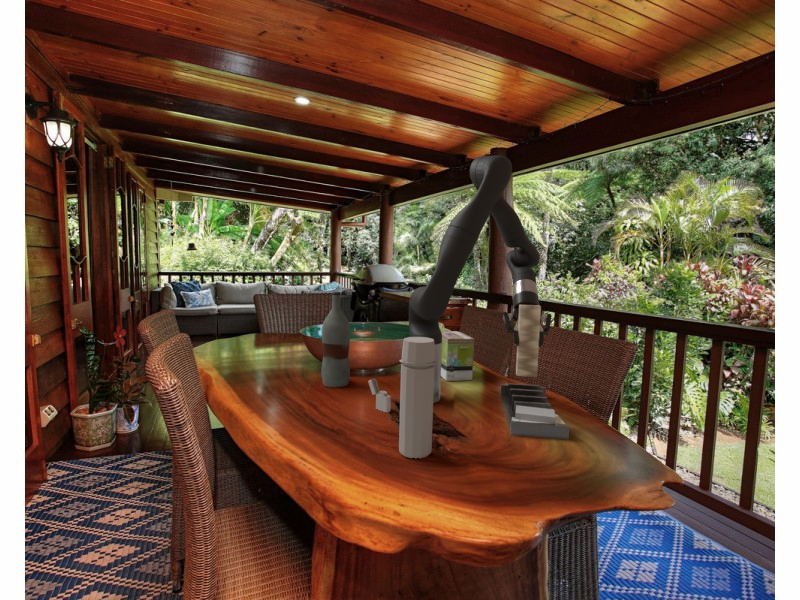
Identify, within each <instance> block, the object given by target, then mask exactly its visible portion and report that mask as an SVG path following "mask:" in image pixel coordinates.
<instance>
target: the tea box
mask: <svg viewBox="0 0 800 600" xmlns="http://www.w3.org/2000/svg"><path fill="white" fill-rule="evenodd" d="M441 333H442V355H441V377H442V378H443V379H444V381H447V382H449V381H451V382H453V381H456V382H458V381H472V380H473V374H474V373H473V371H474V370H473V369H474V367H473V366H474V351H475V350H474V349H475V338H474V337H471V336H470V335H467V334H465V333H463V332H461V331H456V330H455V331H441Z"/></svg>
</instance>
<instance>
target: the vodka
mask: <svg viewBox="0 0 800 600" xmlns="http://www.w3.org/2000/svg"><path fill="white" fill-rule="evenodd" d="M341 293H342V292H341V291H332V293H331V294H332V295H331V297H332V298H331V310H330V311H329V312H328V314H327V316H326V317H325V318H324V320H323V322H322V328H321V342H322V355H323V357H322V363H321V369H320V370H321V371H320V372H321V380H322V384H323V386H325V387H326V386H327V387H328V388H343V387H347V385H348V384H349V381H350V376H351V375H350V374H351V369H350V358H349V354H350V353H349V352H350V341H351V326H350V322H349V320H348V319H347V317H346V315H345V314H344V311H343V310H342V309H341ZM327 387H326V388H327Z"/></svg>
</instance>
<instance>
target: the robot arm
mask: <svg viewBox="0 0 800 600" xmlns="http://www.w3.org/2000/svg"><path fill="white" fill-rule="evenodd" d="M512 173H513V165H512V162H511V160H510V159H509V158H508V157H506V156H505V155H484V156H483V155H482V156H478V157H477V158H475V159H473V160H472V162H471V164H470V168H469V177H470V180H471V182H472V184H473V187H474V188H475V189H476V191H477V192H476V193H475V195H474V196H473V198H472V199H471V200H470V201H469V202H467V204H466V205H465V206H464V207H463V208H461V210H459V212H457V214H456V215H455V216H454V217H453V218H452V219H451V220H450V223H449V224H448V226H447V228H446V230H445V232H444V235H443V237H442V240H441V241H440V245H439V249H438V255H437V262H436V265H435V269H434V271H433V273H432V275H431V276H430V279H429V280H428V283H426V284H427V285H425V286H420V287H417V288H416V289H414V290H413V291H412V293H411V295H410V297H409V300H408V301H409V302H408V331H409V335H410V336H409V337H426V338H431V339H433V340H434V345H435V362H437V363H436V364H433V365H434V391H433V404H434V403H435V404H436V403H438V402H440V400H441V383H442V382H441V380H442V379H441V355H442V333H441V332H442V330H441V327H440V323H439V319H441V317H442V316H444V314H445V312H446V311H447V308H448V306H449V303H450V300H451V297H452V294H453V292H454V289H455V287H456V283H457V282H458V280H459V277H460V275H461V273H462V271H463V270H464V267H465V265H466V263H467V262H468V259H469V258H470V256H471V253H472V252H473V250H474V248H475V245H476V243H477V241H478V240H479V237H480V234H481V232H482V230H483V229H484V227H485V225H486V222H487V221H488V219H489V216H490V215H491V216H492V217H493V219H494V222H495V224H496V226H497V228H498V230H499V233H500V235H501V238H502V241H503V243H504V245H505V246H506V247H507V248H511V249H512V250H510V251H508V252H507V253H506V256H505V261H506V266H507V267H508V269H509V272H510V274H511V278H512V294H511V295H512V296H511V299H512V307H513V308H512V312H510V313H508V312H507V311H504V312H503V315H502V321H503V324H504V327H505V331H506V333H507V334H511V335H513V336H512V339H513V343H514V344H515V346H516V347H517V346H518V345H519V331H518V320H519V305H539V306H540V299H539V292H538V291H539V290H538V286H537V279H536V277H537V276H536V272H535V271H534V269H533V268H534V267H537V266H538V265H539V263H540V262H541V256H540V253H539V250H538V249H537V247H536V246H535V245H534V244H533V242H531V239H529V238H528V235H527V234H526V231H525V229H524V225H523V224H522V221H521V218H520V216H519V215H518V213H517V212H516V210H515V209H514V208H513V207H512V206H511V205H510V203H509V202H507V200H506V199H505V197H504V196H503V193H504V191H505V189H506V188H507V186H508V184H509V183H510V179H511V177H512V175H513V174H512ZM512 319H513V320H514V322H516V323H515V325H514V326H512V323H511V321H512ZM540 320H542V322H543V323H544V324H545V325H544V328H543V327H542V325H541V324H540V332H539V348H541V347H542V346H543V344H544V342H545V339H544V336H548V335H549V333H550V330H551V323H552V314H551V313H547V314H543V313H542V312H541V314H540Z"/></svg>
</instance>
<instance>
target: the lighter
mask: <svg viewBox="0 0 800 600" xmlns="http://www.w3.org/2000/svg"><path fill="white" fill-rule="evenodd" d="M367 382H368V385H369V388H370V391H371V394H372V396H373V395H375V410H376V409H378V410H377V411H379V410H380V411H379V412H382V411H383V413H385V412H386V414H387V413H390V412H391V408H392V407H391V404H392V399H391V398H392V397H391V395H389V394H388V392H387V391H385V390H380V388H379V385H378V382H377V379H376V378H372V379H369V380H368V381H367Z"/></svg>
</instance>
